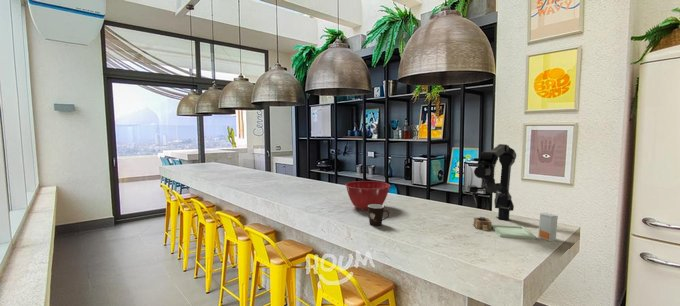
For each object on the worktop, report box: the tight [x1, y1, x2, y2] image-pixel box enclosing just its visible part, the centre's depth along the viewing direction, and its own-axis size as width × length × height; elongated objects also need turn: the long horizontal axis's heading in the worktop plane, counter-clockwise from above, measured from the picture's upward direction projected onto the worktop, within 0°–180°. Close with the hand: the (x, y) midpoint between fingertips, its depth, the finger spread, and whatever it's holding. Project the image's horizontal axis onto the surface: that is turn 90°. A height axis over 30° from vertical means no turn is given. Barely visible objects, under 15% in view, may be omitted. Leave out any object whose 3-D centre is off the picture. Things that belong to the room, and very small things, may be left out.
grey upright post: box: [472, 216, 493, 231], centre depth 169 cm, size 8×8×6 cm
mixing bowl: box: [345, 180, 391, 211], centre depth 207 cm, size 28×28×16 cm
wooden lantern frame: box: [473, 217, 493, 231], centre depth 168 cm, size 9×7×4 cm
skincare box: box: [537, 212, 559, 242], centre depth 153 cm, size 6×4×12 cm
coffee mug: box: [367, 204, 390, 227], centre depth 171 cm, size 12×9×10 cm
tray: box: [491, 224, 537, 240], centre depth 161 cm, size 16×16×2 cm
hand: (486, 205), depth 167 cm, fingers open, 9 cm apart
